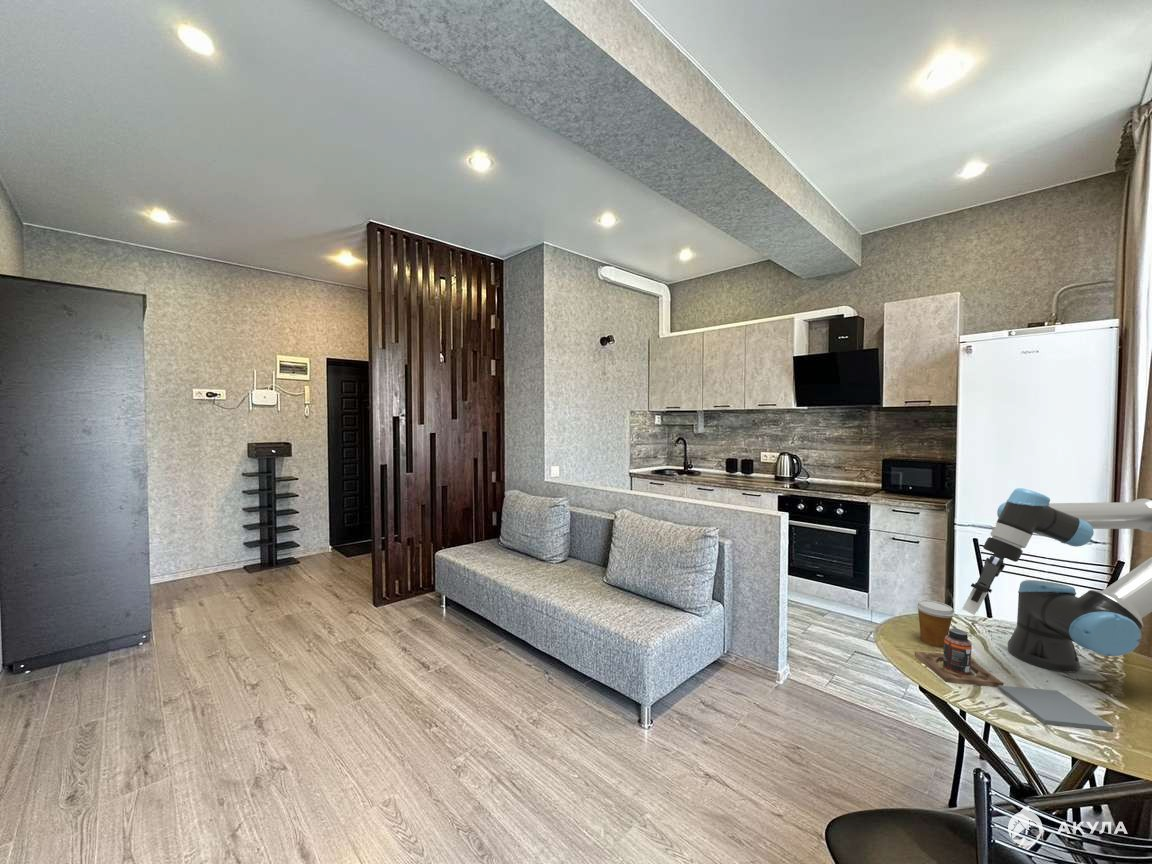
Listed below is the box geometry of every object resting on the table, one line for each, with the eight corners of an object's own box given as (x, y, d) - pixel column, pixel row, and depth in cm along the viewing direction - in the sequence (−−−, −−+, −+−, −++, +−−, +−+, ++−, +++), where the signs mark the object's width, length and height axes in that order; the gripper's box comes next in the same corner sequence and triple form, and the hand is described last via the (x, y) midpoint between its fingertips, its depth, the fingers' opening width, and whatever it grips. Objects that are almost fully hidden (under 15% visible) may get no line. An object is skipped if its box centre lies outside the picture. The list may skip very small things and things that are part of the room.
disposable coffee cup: (960, 650, 141) (962, 612, 141) (929, 649, 141) (931, 611, 141) (936, 635, 151) (938, 599, 150) (907, 634, 151) (909, 598, 150)
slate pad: (1057, 694, 119) (1057, 690, 119) (1112, 731, 106) (1113, 726, 106) (997, 688, 121) (998, 685, 121) (1044, 724, 107) (1044, 720, 107)
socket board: (965, 659, 136) (966, 655, 136) (1003, 687, 122) (1003, 683, 122) (914, 655, 138) (914, 651, 138) (945, 682, 124) (946, 677, 124)
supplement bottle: (975, 677, 126) (977, 637, 126) (950, 674, 127) (953, 634, 127) (961, 666, 132) (964, 627, 132) (938, 663, 133) (940, 625, 133)
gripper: (990, 538, 138) (957, 600, 139) (987, 533, 120) (949, 604, 122) (1023, 551, 132) (988, 615, 134) (1025, 547, 115) (984, 622, 116)
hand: (969, 610), depth 128 cm, fingers open, 13 cm apart
